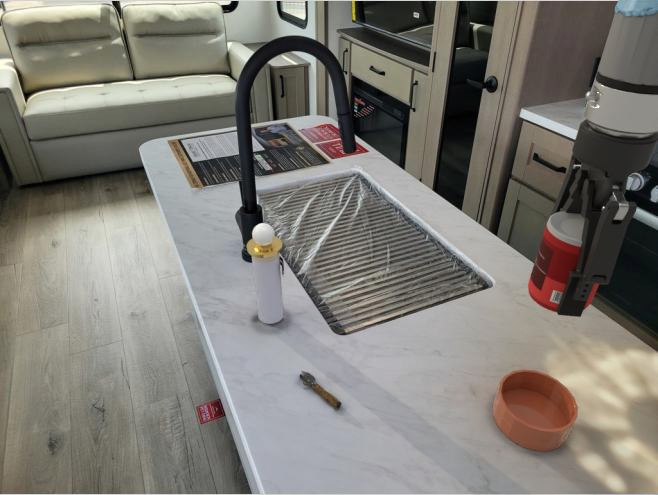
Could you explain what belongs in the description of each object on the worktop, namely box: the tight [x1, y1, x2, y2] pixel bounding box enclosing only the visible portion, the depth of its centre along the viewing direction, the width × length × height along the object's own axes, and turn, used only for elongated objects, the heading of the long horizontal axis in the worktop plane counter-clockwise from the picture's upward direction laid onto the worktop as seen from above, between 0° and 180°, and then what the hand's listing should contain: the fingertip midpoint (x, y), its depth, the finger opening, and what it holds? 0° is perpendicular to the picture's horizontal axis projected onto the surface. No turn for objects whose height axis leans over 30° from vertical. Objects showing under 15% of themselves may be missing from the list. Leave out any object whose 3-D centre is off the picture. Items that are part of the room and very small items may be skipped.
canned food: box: [527, 211, 600, 313], centre depth 60 cm, size 8×8×11 cm
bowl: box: [492, 369, 579, 452], centre depth 68 cm, size 10×10×4 cm
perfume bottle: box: [246, 222, 285, 325], centre depth 81 cm, size 6×6×20 cm
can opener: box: [299, 370, 342, 409], centre depth 72 cm, size 9×2×1 cm, turn 39°
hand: (559, 292), depth 63 cm, fingers closed on canned food, 8 cm apart
